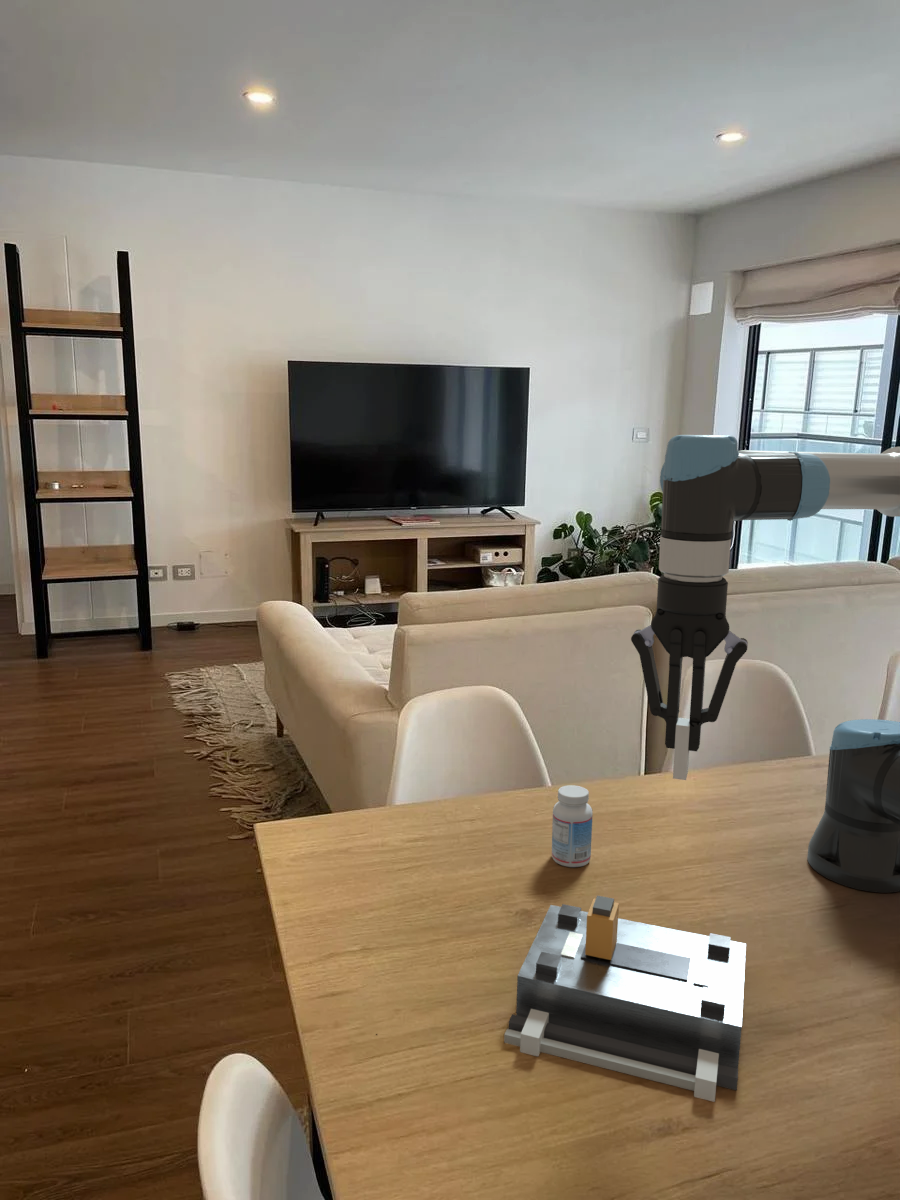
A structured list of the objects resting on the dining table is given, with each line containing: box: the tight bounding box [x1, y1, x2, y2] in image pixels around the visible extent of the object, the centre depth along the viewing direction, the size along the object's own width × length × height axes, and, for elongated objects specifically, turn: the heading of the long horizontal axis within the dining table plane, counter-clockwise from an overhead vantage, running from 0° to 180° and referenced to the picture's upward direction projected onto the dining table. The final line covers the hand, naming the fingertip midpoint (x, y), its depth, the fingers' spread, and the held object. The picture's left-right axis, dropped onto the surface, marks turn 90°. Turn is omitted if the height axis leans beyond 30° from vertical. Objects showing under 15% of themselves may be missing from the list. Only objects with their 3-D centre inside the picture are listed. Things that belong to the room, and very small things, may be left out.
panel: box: [515, 903, 747, 1070], centre depth 103 cm, size 24×16×6 cm, turn 70°
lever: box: [585, 894, 620, 960], centre depth 103 cm, size 3×4×6 cm
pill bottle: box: [551, 784, 593, 868], centre depth 135 cm, size 6×6×11 cm
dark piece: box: [503, 1009, 739, 1103], centre depth 103 cm, size 24×26×2 cm
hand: (680, 774), depth 103 cm, fingers closed
